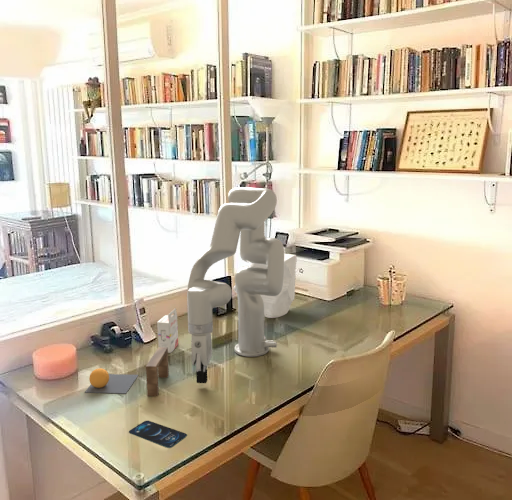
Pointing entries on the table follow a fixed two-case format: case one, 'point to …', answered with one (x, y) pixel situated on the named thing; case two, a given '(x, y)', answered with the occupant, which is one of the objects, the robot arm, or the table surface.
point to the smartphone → (158, 434)
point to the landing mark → (115, 384)
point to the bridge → (156, 370)
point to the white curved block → (281, 302)
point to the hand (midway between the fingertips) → (202, 381)
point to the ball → (99, 378)
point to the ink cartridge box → (168, 331)
